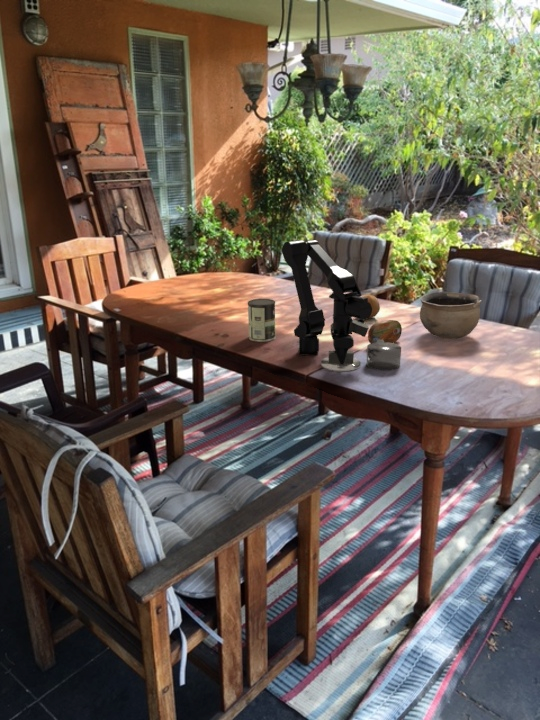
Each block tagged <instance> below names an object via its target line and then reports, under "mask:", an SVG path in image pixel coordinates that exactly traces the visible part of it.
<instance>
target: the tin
mask: <svg viewBox="0 0 540 720" xmlns="http://www.w3.org/2000/svg"><path fill="white" fill-rule="evenodd" d="M402 329H403V328H402V324H401V322H400V321H398V320H395V319H389V320H388V319H387V320H385V321H380V322H376V323H373V324H372V325H371V326H370V328H369V329H368V331H367V341H368V342H369V344H371V343H375V342H376V340H384V342H388V343H393V342H395V343H397V341H399V340H400V337H401V335H402V331H403V330H402Z"/></svg>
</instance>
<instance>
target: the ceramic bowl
mask: <svg viewBox="0 0 540 720" xmlns="http://www.w3.org/2000/svg"><path fill="white" fill-rule="evenodd" d="M419 299H420V302H421V304H422V305H421V307H420V310H419V319H420V321H421V324H422V325H423V327H424V329H426V330H427V331H428V332H429V334H431V335H432V336H434V337H436V338H440V339H444V340H445V339H446V340H458V339H463V338H465V337H466V336H468V335H469V334H471V333H472V332H473V330H475V328H476V327H477V326H478V324H479V321H480V318H481V317H480V316H481V309H480V305H481V303H482V300H481V299H480V297H479V296H478V295H476V294H472V293H461V292H460V293H459V292H450V291H449V292H447V291H439V292H431V293H427V294H425V295H422V296H420V298H419Z"/></svg>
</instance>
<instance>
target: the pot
mask: <svg viewBox="0 0 540 720" xmlns="http://www.w3.org/2000/svg"><path fill="white" fill-rule="evenodd" d="M401 359H402V347H401V346H400V345H399V344H397V343H388V342H384V340H376V342H375V343H369V344H368V345H367V346H366V367H368V368H371V369H373V370H377V369H378V371H393V370H392V369H394V370H396V369H399V368H400V367H401Z"/></svg>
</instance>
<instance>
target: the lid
mask: <svg viewBox="0 0 540 720" xmlns="http://www.w3.org/2000/svg"><path fill="white" fill-rule="evenodd" d="M361 364H362V363H361V360H360V359H358V358H356V357H354V350H348V351H347V354H346V357H345V361H344V364H340V362H339V359H338V356H337V354H336V351H335V350H328V356H327V357H324V358H323V359H321V361H320V366H321V367H322V368H323V369H325V370H329V371H332V370H333V372H334V371H335V372H351V371H350V370H352V371H355V369H356V370H358V369H360V367H361Z"/></svg>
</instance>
